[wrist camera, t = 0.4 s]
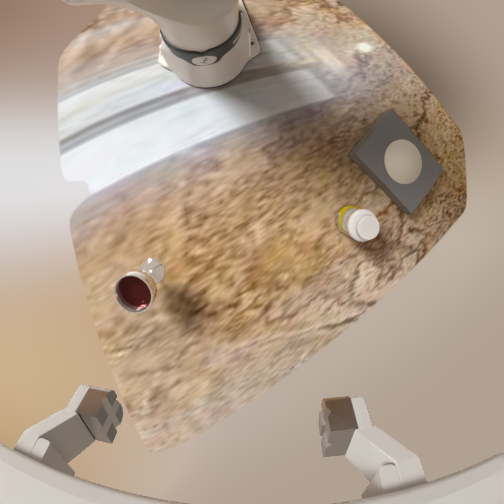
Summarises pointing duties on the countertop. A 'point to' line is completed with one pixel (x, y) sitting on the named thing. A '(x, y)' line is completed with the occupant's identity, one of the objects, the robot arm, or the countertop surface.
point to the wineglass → (139, 286)
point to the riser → (397, 161)
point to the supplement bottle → (357, 223)
